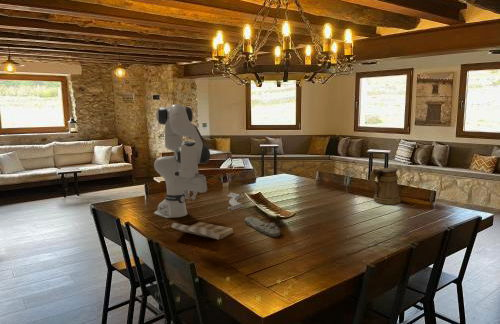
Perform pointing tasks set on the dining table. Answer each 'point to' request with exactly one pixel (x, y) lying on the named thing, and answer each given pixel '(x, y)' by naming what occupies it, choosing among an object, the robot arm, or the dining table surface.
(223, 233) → the oak board
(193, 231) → the birch plank
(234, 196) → the molding
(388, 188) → the tankard
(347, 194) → the dining table surface
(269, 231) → the long grey stone
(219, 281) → the dining table surface
